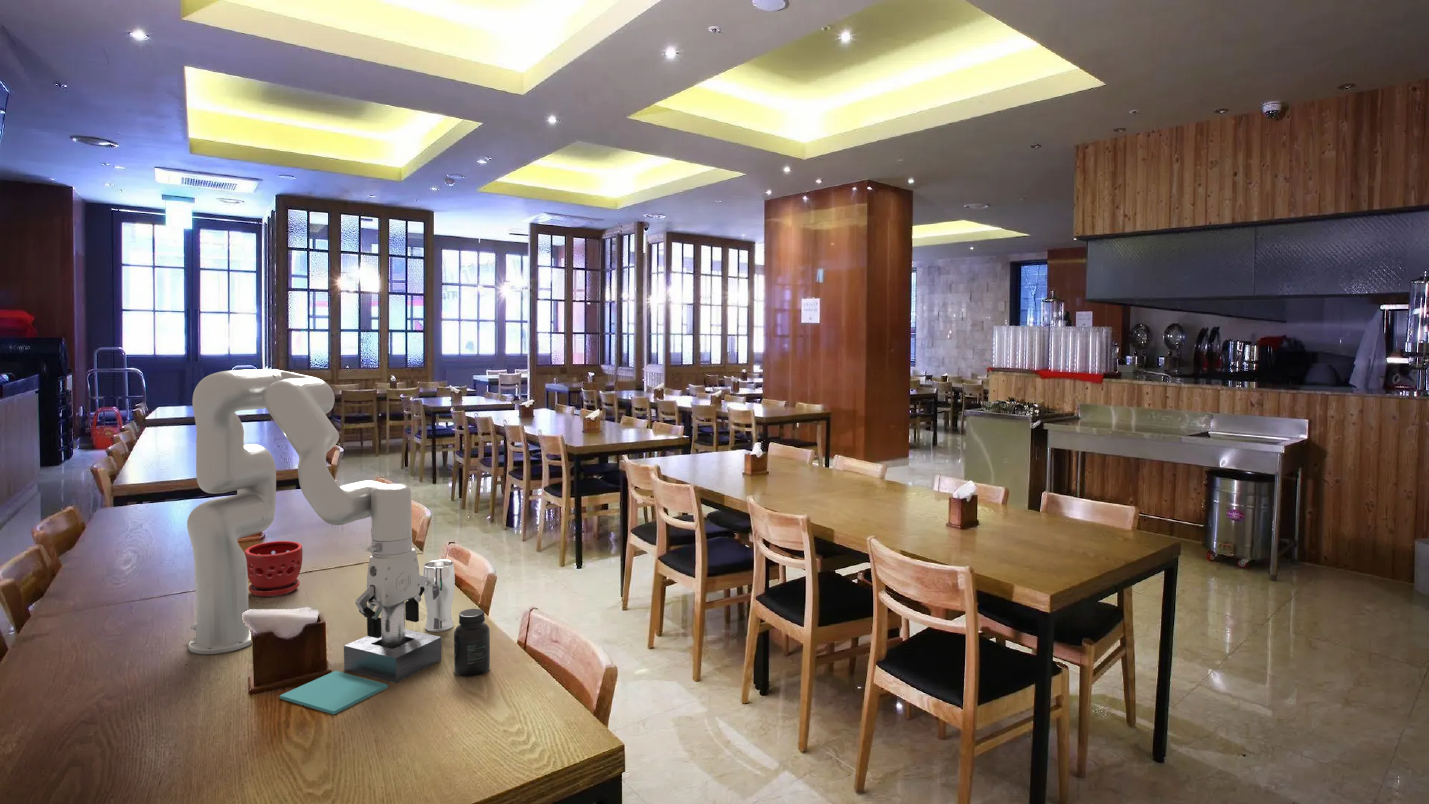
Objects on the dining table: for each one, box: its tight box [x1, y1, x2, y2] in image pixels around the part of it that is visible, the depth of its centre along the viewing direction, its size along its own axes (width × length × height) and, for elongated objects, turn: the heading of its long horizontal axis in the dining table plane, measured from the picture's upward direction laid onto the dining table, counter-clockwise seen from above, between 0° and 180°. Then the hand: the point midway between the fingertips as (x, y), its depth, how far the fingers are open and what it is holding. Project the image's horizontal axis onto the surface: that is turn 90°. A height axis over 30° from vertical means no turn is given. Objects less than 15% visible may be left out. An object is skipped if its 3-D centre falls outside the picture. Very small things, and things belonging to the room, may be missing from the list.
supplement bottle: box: [453, 608, 491, 678], centre depth 154 cm, size 7×7×12 cm
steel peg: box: [380, 601, 406, 649], centre depth 156 cm, size 4×4×13 cm
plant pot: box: [244, 540, 304, 598], centre depth 200 cm, size 13×13×12 cm
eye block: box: [343, 628, 443, 684], centre depth 157 cm, size 14×12×5 cm
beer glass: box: [422, 559, 456, 633], centre depth 177 cm, size 7×7×15 cm
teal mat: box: [279, 670, 389, 715], centre depth 144 cm, size 14×12×1 cm
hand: (393, 628), depth 156 cm, fingers open, 9 cm apart
